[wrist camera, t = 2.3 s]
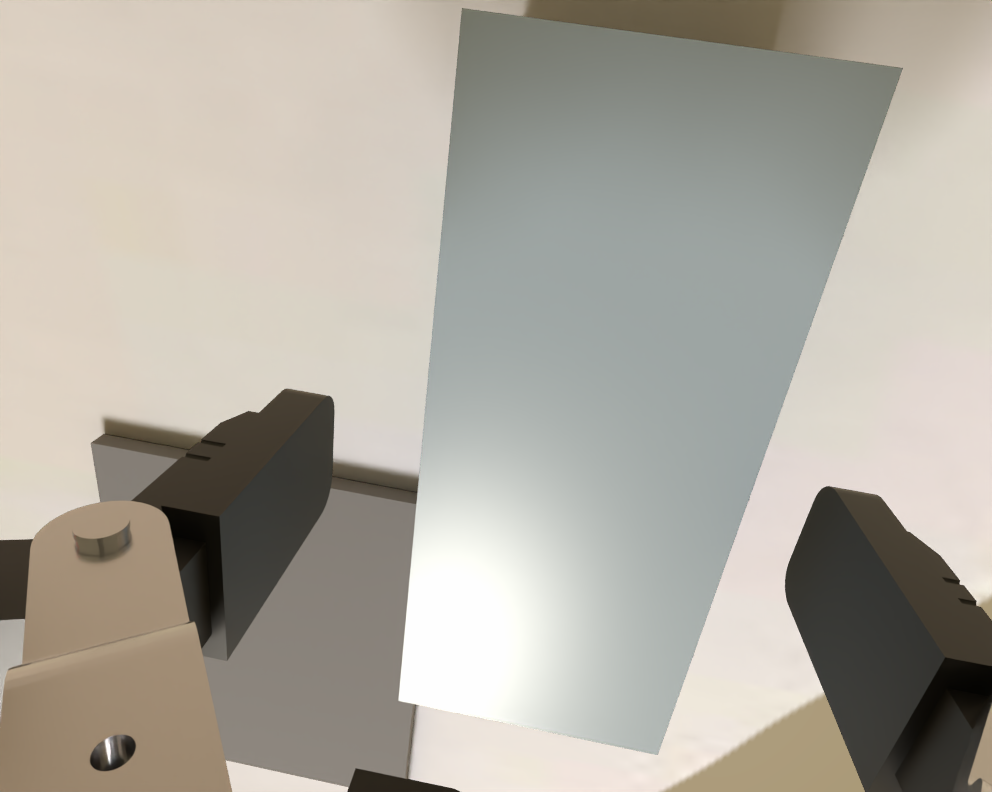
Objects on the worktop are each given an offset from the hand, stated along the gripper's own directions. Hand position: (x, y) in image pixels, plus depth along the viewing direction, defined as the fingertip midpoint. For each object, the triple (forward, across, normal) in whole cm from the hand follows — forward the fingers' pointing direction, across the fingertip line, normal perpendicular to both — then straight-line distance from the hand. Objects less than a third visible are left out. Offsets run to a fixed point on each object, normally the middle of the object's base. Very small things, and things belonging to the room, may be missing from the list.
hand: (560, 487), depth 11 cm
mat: (+8, +8, +13) cm, 17 cm away
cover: (+7, 0, 0) cm, 7 cm away
